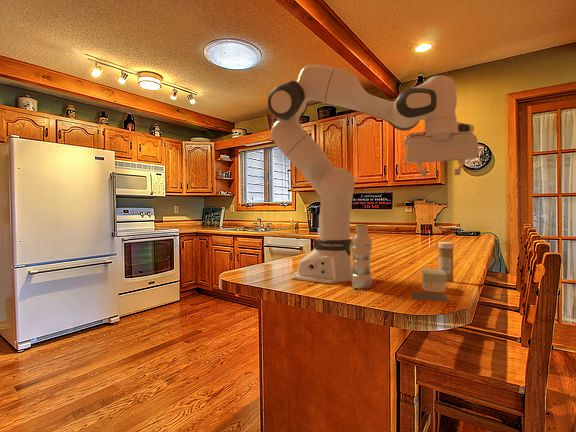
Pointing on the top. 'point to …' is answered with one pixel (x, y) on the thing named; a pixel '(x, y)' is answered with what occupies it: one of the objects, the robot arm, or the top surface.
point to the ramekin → (433, 286)
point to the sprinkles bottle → (446, 259)
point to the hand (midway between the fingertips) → (440, 175)
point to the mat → (429, 296)
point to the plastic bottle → (361, 258)
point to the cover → (433, 275)
